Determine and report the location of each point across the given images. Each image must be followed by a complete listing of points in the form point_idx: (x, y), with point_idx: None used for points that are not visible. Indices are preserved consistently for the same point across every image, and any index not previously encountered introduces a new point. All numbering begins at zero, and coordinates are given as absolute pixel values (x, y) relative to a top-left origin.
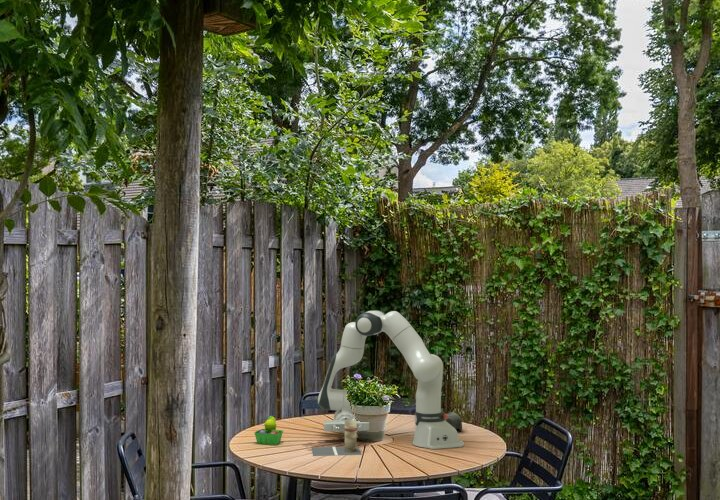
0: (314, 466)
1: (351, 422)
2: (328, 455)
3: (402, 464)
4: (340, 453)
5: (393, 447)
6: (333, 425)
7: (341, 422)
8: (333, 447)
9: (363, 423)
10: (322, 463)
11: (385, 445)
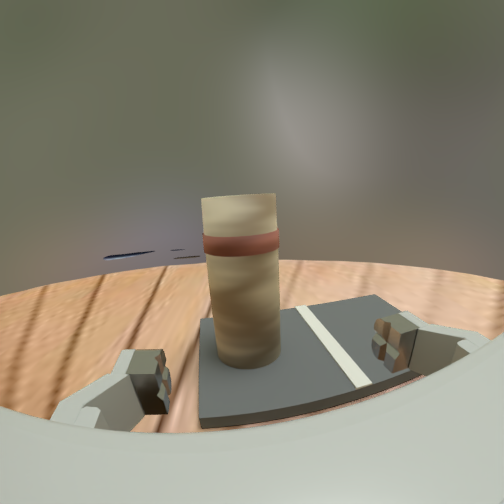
0: (334, 275)
1: (233, 195)
2: (328, 303)
3: (111, 295)
4: (290, 321)
5: None
6: (476, 338)
7: (459, 400)
8: (357, 373)
9: (16, 413)
10: (324, 286)
11: None
